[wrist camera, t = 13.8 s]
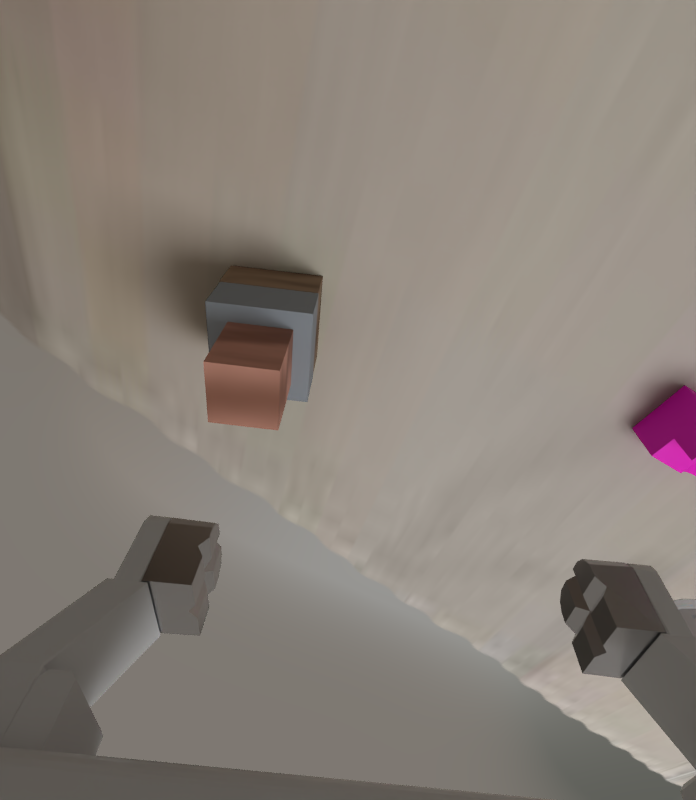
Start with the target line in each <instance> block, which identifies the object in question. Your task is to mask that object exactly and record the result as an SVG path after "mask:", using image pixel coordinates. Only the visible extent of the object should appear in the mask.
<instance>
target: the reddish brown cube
mask: <svg viewBox="0 0 696 800" xmlns="http://www.w3.org/2000/svg"><path fill="white" fill-rule="evenodd" d="M292 350H293V330H292V329H284V328H276V327H267V326H259V325H251V324H243V323H235V322H227V323H226V325H225V327H224V328H223V330H222V332H221V333H220V335H219V337H218V338H217V340H216V342H215V343H214V345H213V347H212V348H211V350H210V352H209V353H208V355H207V357H206V358H205V360H204V374H205V387H206V400H207V413H208V422H212V423H221V424H229V425H238V426H246V427H255V428H263V429H272V430H278V429H279V425H280V422H281V418H282V415H283V411H284V407H285V404H286V400H287V397H288V393H289V390H290V386H291V371H292Z"/></svg>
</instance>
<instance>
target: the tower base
mask: <svg viewBox="0 0 696 800" xmlns="http://www.w3.org/2000/svg"><path fill="white" fill-rule="evenodd" d="M322 279H323V276H317V275H308V274H299V273H291V272H282V271H274V270H265V269H257V268H248V267H240V266H230V268H229V269H228V270H227V272H226V273H225V274H224V276H223V277H222V278H221V280H220V282H227V283H236V284H244V285H253V286H261V287H270V288H278V289H286V290H295V291H303V292H312V293H319V297H318V311H317V325H316V339H315V353H314V366H313V371H314V367H315V362H316V358H317V347H318V333H319V320H320V306H321V292H322Z"/></svg>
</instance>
